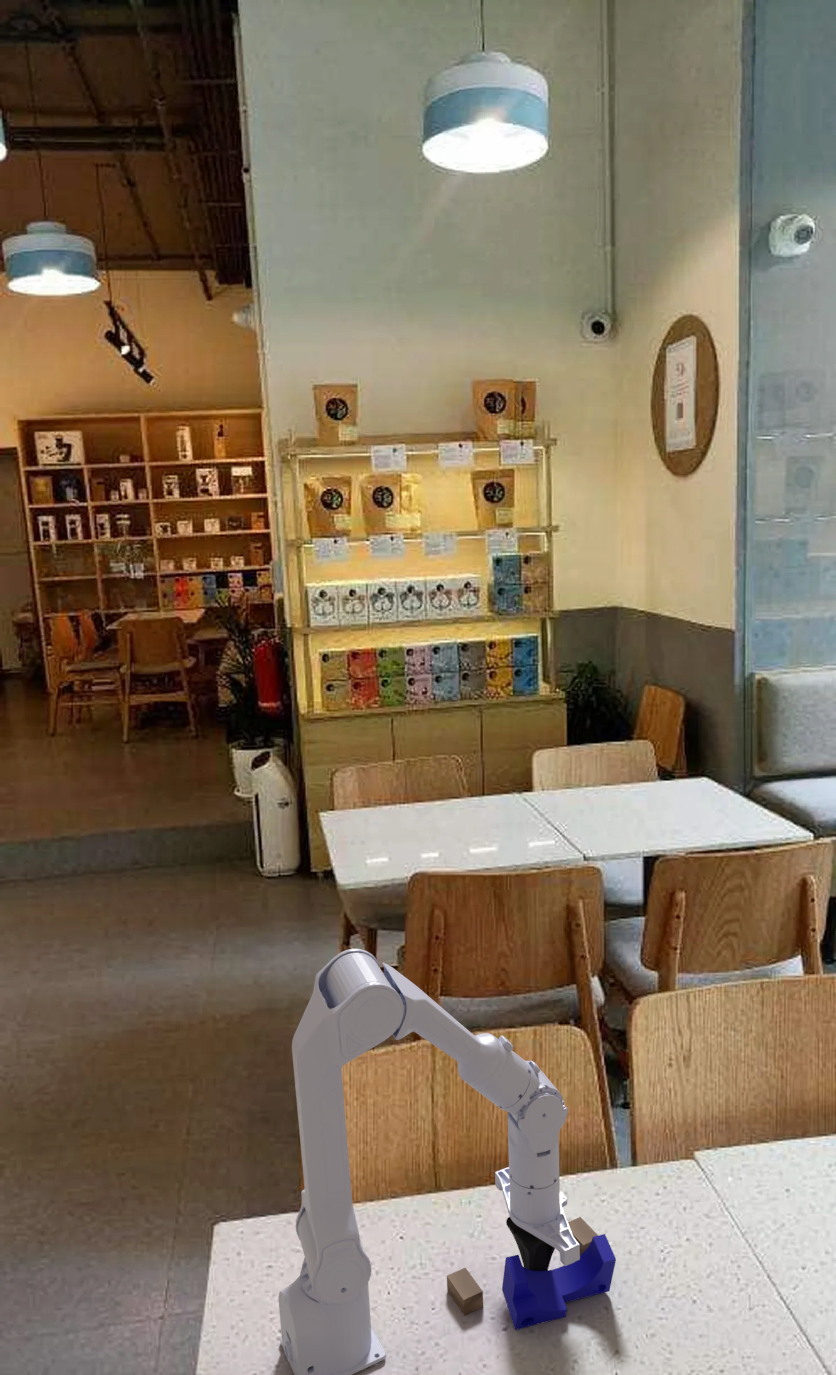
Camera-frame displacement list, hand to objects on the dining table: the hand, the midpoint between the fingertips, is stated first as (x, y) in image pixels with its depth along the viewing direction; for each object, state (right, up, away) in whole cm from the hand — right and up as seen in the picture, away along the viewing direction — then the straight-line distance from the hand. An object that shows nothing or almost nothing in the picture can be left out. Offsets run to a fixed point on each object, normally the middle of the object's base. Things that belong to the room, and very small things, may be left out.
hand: (536, 1276), depth 111 cm
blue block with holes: (+2, -1, -2) cm, 3 cm away
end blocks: (-1, -1, +2) cm, 3 cm away
